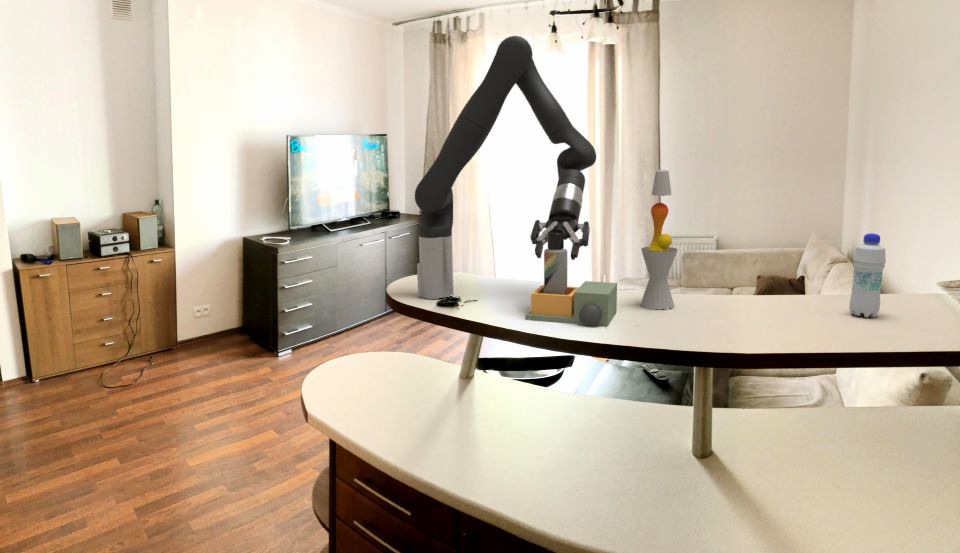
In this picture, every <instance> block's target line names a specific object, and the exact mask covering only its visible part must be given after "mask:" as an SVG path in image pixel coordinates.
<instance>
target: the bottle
mask: <svg viewBox="0 0 960 553" xmlns="http://www.w3.org/2000/svg"><path fill="white" fill-rule="evenodd" d="M880 243H881V236H880V235H879V234H878V233H871V232H870V233H866V234H865V235H864V236H863V243H861V244H859V245H856V247H855V251H854V255H853V259H852V260H853V262H852V266H853V277H852V284H851V286H852V288H851V294H850V299H849V311H850V312H849V313H850V314H851V315H852V314H855V315H854V316H856V315H857V316H860V317H861V315H862V314H863V318H865V317H868V318H869V317H870V316H871V317H870V318H872V317H873V318H876V316H877V315H878V314H879V311H880V309H881V308H880V307H881V289H882V288H881V287H882V281H883V270H884V269H885V267H886V262H887V260H886V248H885V247H884V246H882V245H880ZM861 313H862V314H861ZM857 316H856V317H857Z"/></svg>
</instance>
